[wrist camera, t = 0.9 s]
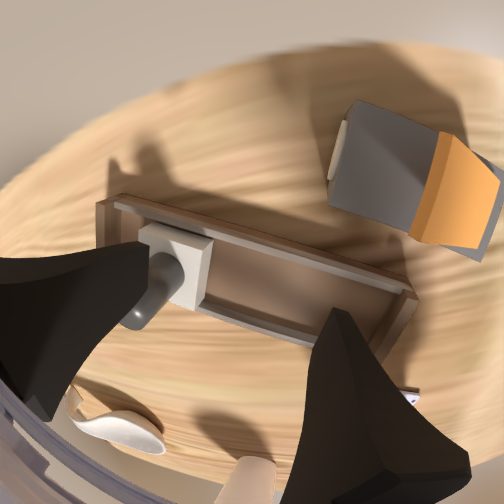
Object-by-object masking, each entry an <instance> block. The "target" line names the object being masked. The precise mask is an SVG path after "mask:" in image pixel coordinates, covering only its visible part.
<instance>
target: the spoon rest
mask: <svg viewBox="0 0 504 504" xmlns="http://www.w3.org/2000/svg"><path fill="white" fill-rule="evenodd" d="M82 401H83V400H82V398H81V396H80V395H79V394H78V392H77V391H76V389H75V388H74V387H71V388H70V389H69V390H68V392H67V395H66V398H65V409H66V412H67V414H68V416H69V417H70V418H71V419H72V420H73V422H74V423H75V425H76V426H77V427H78V428H79V429H81V430H82V431H83V432H86V433H87V434H90V435H93V436H95V437H98V438H101V439H105V440H108V441H111V442H114V443H118V444H121V445H124V446H127V447H130V448H133V449H136V450H139V451H142V452H146V453H150V454H156V455H160V454H164V453H165V452H166V444H165V441H164V438H163V436H162V434H161V433H160V431H159V430H158V429H157V427H156V426H155V425H153V424H152V423H151V422H150V421H149V420H148V419H146V418H145V417H143V416H141V415H140V414H138V413H136V412H133V411H130V410H126V411H124V410H118V411H112V412H109V413H106V414H103V415H100V416H97V417H95V418H92V419H88V420H79V419H78V418H77V417H76V415H75V412H76V409H77V408H78V407H79V405H80V404H81V403H82Z"/></svg>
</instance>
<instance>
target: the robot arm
mask: <svg viewBox="0 0 504 504" xmlns="http://www.w3.org/2000/svg"><path fill="white" fill-rule="evenodd" d="M149 252H150V245H147V244H144V243H142V242H139V241H132V242H125V243H120V244H115V245H110V246H106V247H101V248H96V249H92V250H87V251H82V252H76V253H71V254H66V255H59V256H51V257H40V258H1V257H0V504H86V503H84V502H83V501H81V500H80V499H78V498H77V497H75V496H74V495H73V494H71V493H70V492H68V491H67V490H66V489H64V488H63V487H62V486H60V485H59V484H58V483H57V482H55V481H54V480H53V479H51V478H50V477H49V476H48V475H46V474H45V470H46V469H47V468H48V466H49V465H50V464H49V461H47V460H46V459H45V458H44V457H43V456H42V455H41V454H39V452H38V451H37V450H36V449H35V448H33V447H32V446H31V445H30V444H29V442H28V441H27V440H26V439H25V438H24V437H23V436H22V435H21V434H20V433H19V432H18V431H17V430H16V429H15V428H14V427H13V419H14V420H15V421H16V422H17V423H18V424H19V425H20V426H21V427H22V428H23V429H24V430H25V431H26V432H27V433H28V434H29V435H30V436H31V437H32V438H33V439H34V440H35V441H36V442H38V443H39V444H40V445H41V446H42V447H43V448H44V449H46V450H47V451H48V452H49V453H50V454H51V455H53V456H54V457H55V458H56V459H58V460H59V461H60V462H62V463H63V464H64V465H65V466H67V467H68V468H69V469H71V470H72V471H73V472H75V473H76V474H77V475H79V476H80V477H82V478H83V479H85V480H86V481H88V482H89V483H91V484H92V485H94V486H95V487H97V488H98V489H100V490H102V491H103V492H105V493H107V494H108V495H110V496H112V497H113V498H115V499H117V500H119V501H121V502H122V503H124V504H176V503H174V502H172V501H169V500H167V499H164V498H162V497H160V496H158V495H155V494H153V493H151V492H149V491H147V490H145V489H143V488H141V487H139V486H137V485H135V484H133V483H131V482H129V481H127V480H126V479H124V478H122V477H120V476H119V475H117V474H115V473H113V472H112V471H110V470H108V469H107V468H105V467H103V466H102V465H100V464H98V463H97V462H96V461H94V460H92V459H91V458H90V457H88V456H86V455H85V454H84V453H82V452H81V451H79V450H78V449H77V448H75V447H74V446H73V445H71V444H70V443H69V442H67V441H66V440H64V439H63V438H62V437H61V436H60V435H58V434H57V433H56V432H55V431H53V430H52V429H51V428H50V427H49V426H47V425H46V424H45V423H44V422H50V421H52V419H53V416H54V414H55V412H56V410H57V408H58V405H59V403H60V401H61V399H62V397H63V395H64V394H65V392H66V390H67V388H68V386H69V385H70V383H71V381H72V380H73V378H74V376H75V375H76V373H77V372H78V370H79V369H80V367H81V366H82V364H83V363H84V361H85V360H86V359H87V357H88V356H89V355H90V353H91V352H92V351H93V349H94V348H95V347H96V345H97V344H98V343H99V342H100V341H101V340H102V339H103V338H104V337H105V336H106V335H107V334H108V333H109V332H110V331H111V330H112V329H113V328H114V327H115V326H116V325H117V324H118V323H119V322H120V321H121V320H122V319H123V318H124V317H125V316H126V315H127V314H128V313H129V312H130V311H131V310H132V309H133V308H134V306H135V305H136V304H137V303H138V301H139V300H140V299H141V297H142V296H143V295H144V293H145V292H146V291H147V289H148V271H149ZM419 398H420V394H419V393H414V392H407V391H400V390H399V389H398V388H397V387H396V385H395V384H394V383H393V382H392V380H391V379H390V378H389V376H388V375H387V374H386V372H385V371H384V369H383V368H382V366H381V365H380V363H379V362H378V360H377V359H376V357H375V356H374V354H373V352H372V351H371V349H370V347H369V346H368V344H367V342H366V341H365V339H364V337H363V335H362V334H361V332H360V330H359V328H358V327H357V325H356V323H355V321H354V320H353V318H352V316H351V315H350V313H349V312H348V311H345V310H341V309H338V308H335V307H333V308H332V310H331V312H330V314H329V316H328V318H327V320H326V322H325V324H324V326H323V328H322V330H321V332H320V334H319V336H318V338H317V340H316V342H315V344H314V346H313V349H312V354H311V359H310V364H309V369H308V378H307V390H306V401H305V411H304V421H303V427H302V433H301V437H300V441H299V445H298V449H297V453H296V456H295V460H294V463H293V466H292V470H291V473H290V476H289V479H288V482H287V485H286V488H285V491H284V494H283V496H282V499H281V501H280V504H435V503H437V502H439V501H441V500H443V499H445V498H446V497H448V496H450V495H452V494H454V493H455V492H457V491H459V490H460V489H462V488H463V487H464V486H465V485H467V484H468V482H469V481H470V479H471V478H472V475H471V467H470V461H469V455H468V452H467V451H466V450H464V449H463V448H461V447H460V446H458V445H457V444H456V443H454V442H453V441H451V440H450V439H449V438H447V437H446V436H445V435H443V434H442V433H441V432H440V431H439V430H438V429H436V428H435V427H434V426H433V425H432V424H431V423H430V422H428V421H427V420H426V419H425V418H424V417H423V416H422V415H421V414H420V413H419V412H418V411H417V410H416V409H415V408H414V406H413V405H414V404H415V403H416V402H417V401H418V400H419Z"/></svg>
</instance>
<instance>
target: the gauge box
mask: <svg viewBox="0 0 504 504" xmlns="http://www.w3.org/2000/svg"><path fill="white" fill-rule="evenodd" d="M438 138H439V133H438V132H436V131H434V130H432V129H430V128H428V127H426V126H424V125H421V124H419V123H417V122H415V121H413V120H410V119H408V118H406V117H403V116H401V115H398V114H396V113H393V112H391V111H388V110H386V109H383V108H380V107H378V106H375V105H372V104H369V103H366V102H363V101H360V100H356V102H355V103H354V104H353V105H352V107H351V108H350V109H349V110H348V112H347V116H346V120H343V121H342V123H341V126H340V129H339V132H338V136H337V139H336V143H335V147H334V150H333V154H332V158H331V162H330V167H329V171H328V176H327V179H328V180H329V184H328V187H327V194H328V202H329V206H332V207H335V208H339V209H342V210H345V211H348V212H351V213H354V214H357V215H360V216H363V217H366V218H369V219H371V220H374V221H377V222H380V223H383V224H386V225H388V226H391V227H394V228H397V229H399V230H402V231H405V232H407V233H409V231H410V229H411V226H412V223H413V221H414V218H415V215H416V212H417V210H418V207H419V204H420V201H421V198H422V195H423V192H424V189H425V185H426V182H427V179H428V175H429V172H430V169H431V165H432V161H433V158H434V154H435V150H436V146H437V142H438ZM472 152H473V151H472ZM473 153H474V154H475V155H476V156H477V157H478V158H479V159H480V160H481V161H482V162H483V163H484V164H485V165H486V166H487V167H488V168H489V170H490V171H491V172H492V173H493V174H494V175H495V176H496V177H497V178H498V179H499V180H500V185H499V189H498V192H497V196H496V199H495V202H494V205H493V208H492V211H491V214H490V217H489V220H488V223H487V226H486V228H485V231H484V234H483V236H482V239H481V241H480V244H479V246H478V248H477V249H474V248H466V247H457V246H448V245H440V244H438V245H440V246H443V247H445V248H448V249H450V250H452V251H455V252H457V253H459V254H462V255H464V256H466V257H469V258H471V259H473V260H475V261H478V262H481V260H482V258H483V256H484V253H485V251H486V249H487V246H488V244H489V241H490V239H491V236H492V234H493V231H494V229H495V226H496V223H497V220H498V217H499V214H500V211H501V208H502V205H503V202H504V171H503V170H501V169H500V168H498V167H497V166H495V165H494V164H492V163H491V162H489V161H488V160H486V159H485V158H483V157H481V156H480V155H478V154H477V153H475V152H473Z"/></svg>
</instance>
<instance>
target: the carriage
mask: <svg viewBox="0 0 504 504" xmlns="http://www.w3.org/2000/svg"><path fill="white" fill-rule="evenodd" d="M138 241H139V242H142V243H144V244H147V245H150V252H149V271H148V289H147V291H146V292H145V293H144V295H143V296H142V297H141V299H140V300H139V301H138V303H137V304H136V305H135V306H134V308H133V309H132V310H131V311H130V312H129V313H128V314H127V315H126V316H125V317H124V318H123V319H122V320H121V321H120V322H119V323H120V324H121V325H123V326H124V327H126V328H128V329H131V330H141V329H142V328H144V327H145V325H146V324H147V323H148V322H149V321H150V320H151V319H152V318H153V317H154V316H155V314H156V313H157V312H158V311H159V310H160V309H161V308H162V307H163V306H164V305H165V304H166V302H167V301H169V302H171V303H174V304H176V305H179V306H181V307H184V308H186V309H189V310H192V311H195V310H196V308H197V307H198V306H199V304H200V303H201V302H202V300H203V299H204V297H205V290H206V284H207V277H208V271H209V265H210V259H211V253H212V247H213V241H214V240H212V239H208V238H205V237H202V236H199V235H195V234H192V233H189V232H185V231H182V230H179V229H176V228H172V227H169V226H166V225H163V224H159V223H156V222H152V223H151V224H149V225H147V226H145V227H143V228H141V229H140V230H139V234H138Z"/></svg>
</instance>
